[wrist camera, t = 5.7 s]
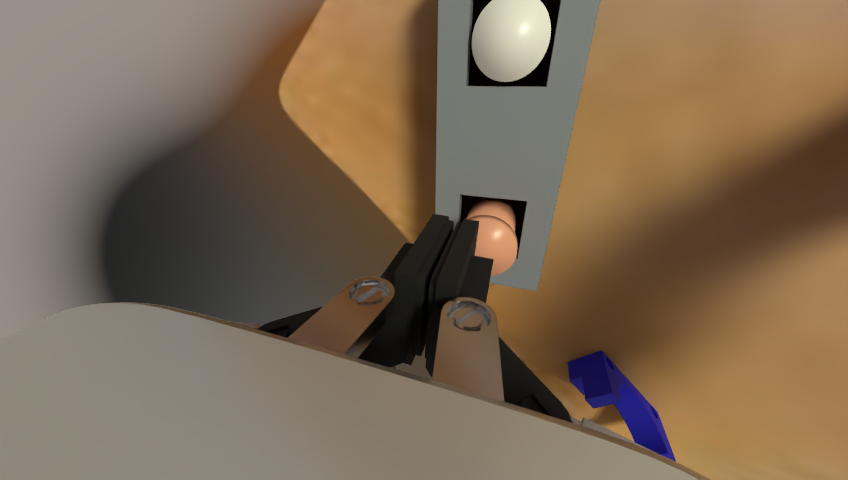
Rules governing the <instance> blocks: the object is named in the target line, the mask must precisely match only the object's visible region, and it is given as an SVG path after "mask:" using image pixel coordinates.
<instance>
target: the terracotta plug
mask: <svg viewBox="0 0 848 480" xmlns="http://www.w3.org/2000/svg"><path fill="white" fill-rule="evenodd" d="M466 219H469V220H476V221H479V228H478V235H477V242H476V249H475V256H480V257H485V258H490V259H494V260H493V266H492V271H491V276H495V275H498V274H501V273H503V272H505V271H506V270H508V269H509V268H510V267H511V266H512V264H513V263H514V261H515V259H516V256H517V246H518V243H517V237H516V234H515V226H516V213H515V210H514V208H513V207H512V206H511V204H510V203H509V202H507V201H506V200H504V199H499V198H489V197H484V198H481V199H479V200H478V201H476V202H475V203H474V204H473V206H472V207H471V209H470V211H469V213H468V216H467V218H466Z"/></svg>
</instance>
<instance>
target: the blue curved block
mask: <svg viewBox="0 0 848 480" xmlns="http://www.w3.org/2000/svg"><path fill="white" fill-rule="evenodd" d="M568 369H569V377H570V381H571V382H572V383H573V384H574V385H575V386H576V388H577V389H578V390H579V391H580V392H581V393H582V394H585V400H586V401H587V402H588V403H589V404H590V405H591V406H592V407H593V408H598V407H602V406H606V405H610V404H614V405H615V406H616V408H617V409H618V411H619V412H620V414H621V415H622V417H623V419H624V420H625V422H626V424H627V426H628V428H629V430H630V432H631V434H632V437H633V439H634V441H635V443H637V444H639V445H641V446H643V447H645V448H647V449H649V450H652V451H654V452H656V453H658V454H660V455H662V456H664V457H667V458H669V459H671V460H673V461H675V462H676V460H675V458H674V455H673V452H672V449H671V447H670V444H669V441H668V439H667V436H666V433H665V431H664V428H663V425H662V423H661V420H660V417H659V415H658V412H657V411H656V410H655V409H654V408H653V407H652V406H651V404H650V403H649V402H648V401H647V400H646V399H645V398H644V397H643V396H642V394H641V393H640V392H639V391H638V390H637V389H636V388H635V387H634V386H633V384H632V383H631V382H630V381H629V380H628V379H627V378H626V377H625V376H624V375H623V373H622V372H621V371H620V370H619V369H618V368H617V367H616V366H615V365H614V363H613V362H612V361H611V360H610V359H609V358H608V357H607V356H606V355H605V353H604V352H603V351H599V352H596V353H593V354H590V355H587V356H584V357H581V358H578V359H575V360H572V361H570V362H568Z"/></svg>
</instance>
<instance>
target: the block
mask: <svg viewBox="0 0 848 480" xmlns="http://www.w3.org/2000/svg"><path fill="white" fill-rule="evenodd" d="M600 1H601V0H561V1H560V7H559V13H558V18H557V24H556V30H555V36H554V42H553V48H552V54H551V60H550V66H549V72H548V78H547V84H546V86H468V82H469V65H470V48H471V31H472V14H473V0H438V53H437V125H436V197H435V214H438V215H444V216H449V220H451V221H454V227H453V230H454V228H455V226H456V224H457V222H460V220H461V203H462V195H469V196H479V197H489V198H499V199H509V200H519V201H527V203H526V208H525V214H524V220H523V226H522V232H521V238H520V244H519V250H517V256H516V259H515V261H514V263H513V264H512V266H511V267H510V268H509V269H508V270H506V271H505V272H503V273H501V274H498V275H495V276H491V277H490V282H489V283H492V284H498V285H503V286H509V287H515V288H521V289H527V290H532V291H537V288H538V284H539V279H540V275H541V270H542V265H543V261H544V256H545V252H546V247H547V243H548V238H549V234H550V229H551V224H552V220H553V215H554V211H555V206H556V202H557V197H558V192H559V188H560V183H561V179H562V174H563V170H564V165H565V160H566V156H567V151H568V147H569V142H570V138H571V133H572V128H573V124H574V119H575V115H576V110H577V106H578V101H579V96H580V92H581V87H582V83H583V78H584V74H585V69H586V64H587V60H588V55H589V51H590V46H591V42H592V37H593V33H594V28H595V23H596V19H597V14H598V10H599V5H600Z"/></svg>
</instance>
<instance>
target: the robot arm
mask: <svg viewBox="0 0 848 480" xmlns="http://www.w3.org/2000/svg"><path fill="white" fill-rule="evenodd" d="M453 227H454V221H451V220H449V216H444V215H438V214H433V216H432V217H431V219H430V220H429V222H428V223H427V225H426V226H425V228H424V229H423V231H422V232H421V234H420V235H419V237H418V238H417V240H416V241H415V243H414V244H410V243H405V244H404V245H403V247H402V248H401V250H400V251H399V252H398V254H397V255H396V256H395V258H394V259H393V261H392V262H391V263H390V265H389V266H388V268H387V269H386V270H385V272H384V273H383V275H382V276H381V277H380V278H379V277H364V278H360V279H357V280H354V281H353V282H351V283H350V284H349V285H347V286H346V287H345V288H344V289H343V290H342V291H340V292H339V293H338V294H337V295H336V296H335V297H334V298H332V299H331V300H330V301H329V302H328V303H327V304H326V305H325V306H323V307H320V308H317V309H313V310H310V311H306V312H303V313H299V314H296V315H292V316H289V317H286V318H282V319H279V320H275V321H272V322H270V323H267V324H265V325H263V326H261V327H260V328H259V325H258V324H252V323H238V322H237V323H236V322H229V321H225V320H221V319H218V318H214V317H210V316H206V315H203V314H199V313H194V312H190V311H186V310H182V309H177V308H173V307H168V306H161V305H154V304H147V303H126V302H121V303H103V304H94V305H87V306H82V307H76V308H72V309H68V310H65V311H62V312H59V313H57V314H55V315H52V316H50V317H48V318H45V319H43V320H41V321H39V322H37V323H35V324H32V325H30V326H28V327H26V328H24V329H22V330H20V331H18V332H16V333H13V334H11V335H9V336H7V337H5V338H3V339H1V340H0V480H710V479H709V478H707V477H705V476H703V475H701V474H699V473H697V472H695V471H693V470H691V469H689V468H687V467H685V466H683V465H681V464H679V463H677V462H675V461H673V460H671V459H669V458H667V457H664V456H662V455H660V454H658V453H656V452H654V451H652V450H649V449H647V448H645V447H643V446H641V445H639V444H637V443H635V442H633V441H631V440H629V439H627V438H625V437H623V436H621V435H619V434H617V433H615V432H613V431H611V430H609V429H607V428H605V427H602V426H600V425H598V424H596V423H594V422H592V421H590V420H588V419H586V418H583V420H582V422H581V421H579V420H577V419H575V418H573V417H571V416H570V415H569V413H568V411H567V410H566V408H565V407H564V406H563V405H562V403H561V402H560V401H559V400H558V399H557V398H556V397H555V396H554V395H553V393H552V392H551V391H550V390H549V389H548V388H547V387H546V386H545V385H544V384H543V383H542V382H541V381H540V380H539V379H538V378H537V377H536V376H535V375H534V374H533V372H532V371H531V370H530V369H529V368H528V367H527V366H526V365H525V364H524V363H523V362H522V361H521V360H520V359H519V358H518V357H517V356H516V355H515V354H514V353H513V351H512V350H511V349H510V348H509V347H508V346H507V345H506V344H505V343H504V342H503V341H502V340H501V339H500V338H499V337H498V327H497V318H496V315H495V312H494V311H493V310H492V308H491V307H490V306H489V305H487V304H486V299H487V293H488V288H489V282H490V277H491V271H492V266H493V260H494V259H490V258H485V257H480V256H475V249H476V242H477V235H478V228H479V221H476V220H469V219H464V220H463V222H457V224H456V226H455V228H454V230H453ZM425 344H426V348H425V358H426V369H427V370H428V372H429V374H430V375H431V376H432V380H430V379H426V378H422V377H420V376H416V375H413V374H409V373H406V372H403V371H399V370H396V369H395V366H396V365H398V364H401V363H406V364H409V365H412V362H413V360H414V357H415V355H418V356H421V355H422V352H423V350H424V347H425Z"/></svg>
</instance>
